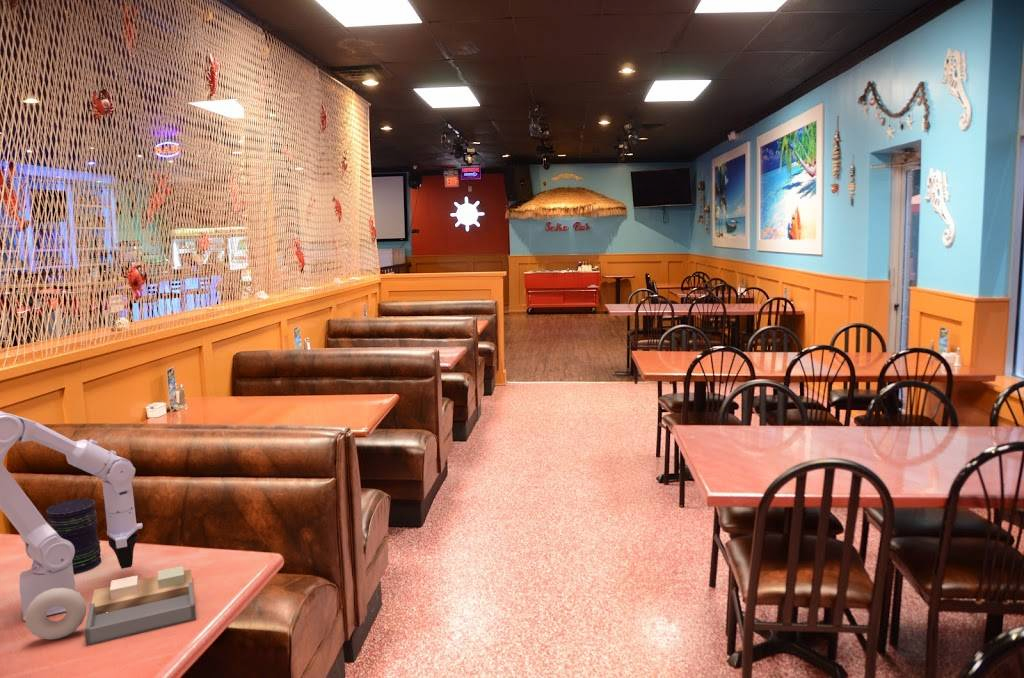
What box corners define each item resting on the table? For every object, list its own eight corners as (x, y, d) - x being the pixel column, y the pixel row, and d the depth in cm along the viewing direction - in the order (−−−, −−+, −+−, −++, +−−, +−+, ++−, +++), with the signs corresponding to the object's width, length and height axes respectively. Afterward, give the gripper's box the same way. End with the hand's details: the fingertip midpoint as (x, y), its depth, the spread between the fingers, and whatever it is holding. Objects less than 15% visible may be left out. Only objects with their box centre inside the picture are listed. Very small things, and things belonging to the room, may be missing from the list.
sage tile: (159, 588, 152) (158, 580, 152) (158, 579, 156) (158, 570, 156) (184, 583, 154) (183, 574, 154) (183, 574, 158) (183, 565, 158)
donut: (27, 649, 134) (20, 599, 132) (29, 640, 137) (23, 591, 135) (88, 635, 138) (82, 586, 137) (89, 626, 141) (84, 579, 140)
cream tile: (110, 599, 148) (109, 590, 148) (112, 589, 152) (111, 580, 152) (137, 593, 150) (136, 584, 150) (138, 583, 155) (137, 575, 154)
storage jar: (49, 579, 163) (41, 516, 161) (57, 562, 172) (50, 503, 170) (99, 570, 167) (92, 508, 165) (104, 554, 176) (97, 495, 174)
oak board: (91, 617, 145) (90, 607, 145) (95, 598, 153) (94, 589, 153) (193, 594, 153) (192, 585, 153) (191, 577, 161) (190, 569, 161)
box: (86, 645, 134) (84, 630, 134) (91, 617, 145) (89, 604, 144) (196, 619, 142) (194, 605, 142) (193, 595, 153) (192, 581, 152)
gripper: (139, 515, 154) (146, 575, 156) (140, 495, 167) (147, 550, 169) (102, 522, 151) (109, 583, 153) (106, 501, 164) (113, 557, 166)
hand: (126, 566), depth 160 cm, fingers closed
